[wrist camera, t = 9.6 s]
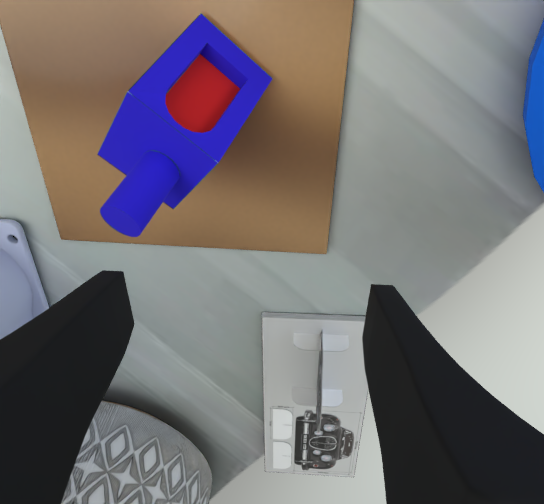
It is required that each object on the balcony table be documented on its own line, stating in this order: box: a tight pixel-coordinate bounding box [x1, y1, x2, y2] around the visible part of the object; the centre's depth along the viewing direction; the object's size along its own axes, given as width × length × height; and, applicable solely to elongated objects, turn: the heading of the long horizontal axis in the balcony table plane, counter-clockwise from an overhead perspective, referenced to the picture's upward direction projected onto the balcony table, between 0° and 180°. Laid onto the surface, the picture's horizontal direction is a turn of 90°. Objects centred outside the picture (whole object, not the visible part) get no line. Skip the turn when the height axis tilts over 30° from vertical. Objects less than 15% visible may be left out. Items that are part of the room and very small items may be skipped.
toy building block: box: [97, 13, 273, 237], centre depth 16 cm, size 4×4×8 cm
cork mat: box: [0, 0, 354, 254], centre depth 19 cm, size 14×14×1 cm
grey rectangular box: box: [262, 312, 368, 477], centre depth 27 cm, size 15×7×4 cm, turn 0°
